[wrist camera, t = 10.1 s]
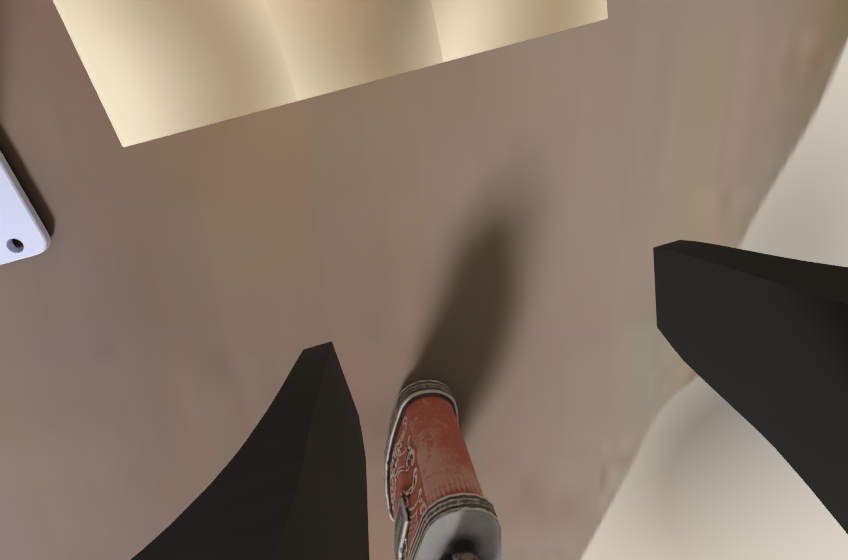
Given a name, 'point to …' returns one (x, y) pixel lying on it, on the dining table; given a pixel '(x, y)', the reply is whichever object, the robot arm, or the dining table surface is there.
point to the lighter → (435, 482)
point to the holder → (279, 49)
